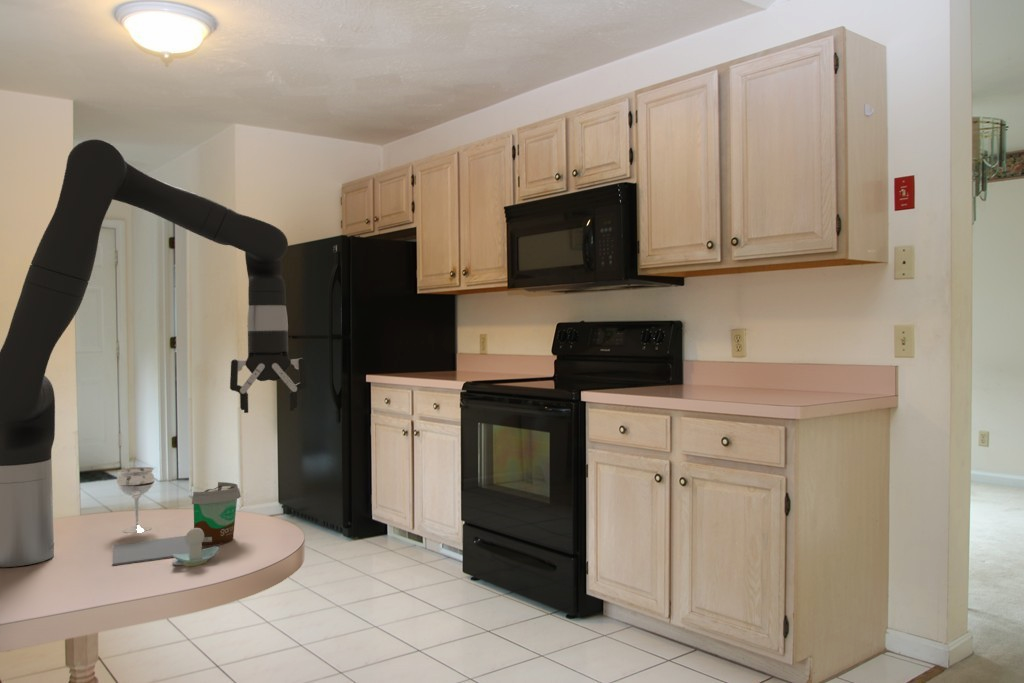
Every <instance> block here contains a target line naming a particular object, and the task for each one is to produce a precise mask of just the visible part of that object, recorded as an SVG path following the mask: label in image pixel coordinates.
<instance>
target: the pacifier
mask: <svg viewBox="0 0 1024 683" xmlns="http://www.w3.org/2000/svg"><path fill="white" fill-rule="evenodd" d="M185 536H186V543H187V544H188V545H189V553H188V554H172V556H173V557H172V558H173V559H174V560H172V561H171V564H172V565H175V566H183V567H194V566H200V565H203V564H206V563H207V562H208V560H210V559H211V558H213V557H214V556H216V554H217V553H218V552H219V547H218V545H214V546H209V547H207V548H204V549H203V546H202V542H203V540H204V532H203V530H202V529H200V528H194V527H193V528H191V529H189V531H188V532H187V534H186V535H185Z"/></svg>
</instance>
